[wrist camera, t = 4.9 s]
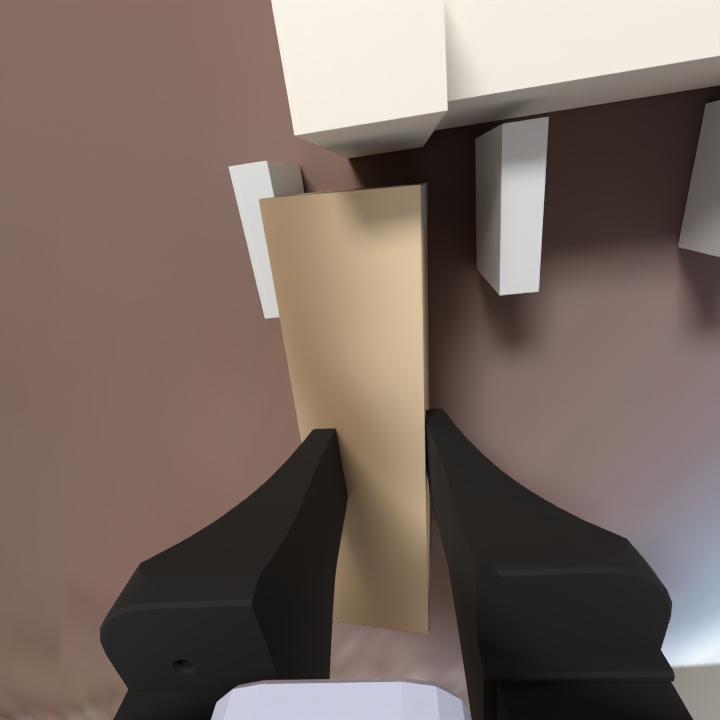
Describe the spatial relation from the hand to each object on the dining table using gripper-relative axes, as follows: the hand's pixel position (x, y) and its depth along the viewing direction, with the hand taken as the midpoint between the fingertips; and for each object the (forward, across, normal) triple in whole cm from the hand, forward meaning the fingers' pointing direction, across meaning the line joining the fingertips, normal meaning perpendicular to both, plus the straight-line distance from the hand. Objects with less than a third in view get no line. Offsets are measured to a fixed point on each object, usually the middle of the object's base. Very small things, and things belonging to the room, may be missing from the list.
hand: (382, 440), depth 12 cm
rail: (+4, 0, 0) cm, 4 cm away
